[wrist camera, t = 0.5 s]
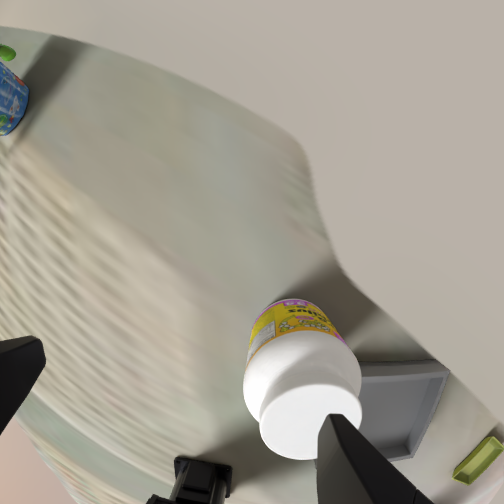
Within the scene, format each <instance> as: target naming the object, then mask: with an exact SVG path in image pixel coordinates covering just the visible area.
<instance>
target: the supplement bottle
mask: <svg viewBox="0 0 504 504" xmlns="http://www.w3.org/2000/svg"><path fill="white" fill-rule="evenodd" d="M360 389H361V370H360V366H359V363H358V361H357V359H356V357H355V355H354V354H353V352H352V351H351V350H350V348H349V347H348V346H347V344H346V343H345V341H344V340H343V338H342V337H341V336H340V334H339V333H338V331H337V330H336V329H335V327H334V326H333V325H332V323H331V322H330V320H329V319H328V318H327V316H326V315H325V314H324V313H323V311H322V310H321V309H320V308H318V307H317V306H316V305H314V304H312V303H310V302H308V301H305V300H301V299H285V300H281V301H278V302H275V303H273V304H271V305H270V306H268V307H267V308H266V309H265V310H263V311H262V312H261V314H260V315H259V316H258V318H257V319H256V321H255V323H254V326H253V328H252V333H251V339H250V345H249V351H248V358H247V364H246V369H245V376H244V383H243V392H244V398H245V402H246V405H247V407H248V409H249V411H250V412H251V414H252V415H253V417H254V418H255V419H256V420H257V421H258V422H259V426H260V434H261V437H262V439H263V441H264V442H265V444H266V445H267V446H268V447H269V448H270V449H271V450H272V451H274V452H275V453H277V454H279V455H281V456H284V457H287V458H291V459H298V460H308V459H316V458H317V440H318V433H319V431H320V429H321V426H322V424H323V422H324V420H325V418H326V416H327V415H328V414H330V413H336V414H343V415H344V416H345V417H346V418H347V419H348V420H349V421H350V422H351V423H352V424H353V425H354V426H355V427H356V428H357V429H359V427H360V424H361V421H362V406H361V403H360V401H359V399H358V396H359V393H360Z"/></svg>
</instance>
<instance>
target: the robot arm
mask: <svg viewBox="0 0 504 504" xmlns="http://www.w3.org/2000/svg"><path fill="white" fill-rule="evenodd" d="M45 364H46V357H45V353H44V349H43V344H42V341H41V340H40V339H38V338H36V337H34V336H25V337H20V338H15V339H9V340H4V341H0V435H1V433H2V432H3V430H4V429H5V427H6V426H7V424H8V423H9V421H10V420H11V419H12V417H13V416H14V414H15V413H16V411H17V410H18V408H19V407H20V406H21V404H22V403H23V401H24V400H25V398H26V397H27V395H28V394H29V392H30V390H31V389H32V387H33V385H34V383H35V382H36V380H37V378H38V377H39V375H40V373H41V372H42V370H43V369H44V367H45ZM174 468H175V477H176V482H175V485H174V487H173V490H172V493H171V496H170V498H169V499H166V498H162V497H159V496H158V495H155V494H153V495H152V497H151V498H149V500H148V501H147V503H146V504H224V501H225V498H229V497H230V488H231V478H232V467H231V466H227V465H219V464H213V463H206V462H201V461H195V460H190V459H185V458H180V457H176V458H175V459H174ZM227 469H228V470H227ZM317 494H318V504H434V503H433V502H432V501H431V500H430V499H428V498H427V497H426V496H425V495H424V494H423V493H422V492H421V491H420V490H418V489H417V490H416V487H415V486H414V485H413V484H412V483H411V482H410V481H409V480H408V479H407V478H406V477H405V476H404V475H403V474H402V473H401V472H399V471H398V470H397V469H396V468H395V467H394V466H393V465H392V464H391V463H390V462H389V461H388V460H387V459H386V458H385V457H384V456H383V455H382V454H381V453H380V452H379V451H378V450H377V449H376V448H375V447H374V446H373V445H372V444H371V443H370V442H369V441H368V440H367V439H366V438H365V437H364V436H363V435H362V434H361V433H360V432H359V430H358V429H357V428H356V427H355V426H354V425H353V424H352V423H351V422H350V421H349V420H348V419H347V418H346V417H345V416H344V415H343V414H336V413H330V414H328V415H327V416H326V418H325V420H324V422H323V424H322V426H321V429H320V431H319V433H318V440H317Z"/></svg>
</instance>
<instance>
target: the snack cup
mask: <svg viewBox="0 0 504 504" xmlns="http://www.w3.org/2000/svg"><path fill="white" fill-rule="evenodd" d="M15 56H16V52H15V51H14V50H13V49H12V48H10V47H8V46H6V45H2V44H0V57H2V59H3V60H5V61H11V60H12V59H14V58H15ZM28 94H29V89H28V87H27V86H26V85H25V84H24V83H23V81H21V80H20V79H19V78H18V77H17V76H16V75H15V74H14V73H12V72H11V71H10V70H9V69H8V68H7V67H6V66H5V65H4V64H3V63H2V62H0V136H4V135H7V134H8V133H9V132H10V131H11V130H12V129H13V128H14V127H15V126H16V125H17V124H18V122H19V120H20V119H21V118H22V117H23V115H24V113H25V112H24V111H25V109H26V106H27V102H28Z"/></svg>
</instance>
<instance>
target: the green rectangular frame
mask: <svg viewBox="0 0 504 504" xmlns="http://www.w3.org/2000/svg"><path fill="white" fill-rule="evenodd" d="M503 450H504V446H503V445H502V444H501V443H500V442H499V441H498V440H497V439H496V438H495V437H494V436H491V437H487V438H485V439H484V440H483V441H482V442H481V443H480V444H479V445H478V446H477V448H476V449H475V450H474V451H473V452H472V453H471V454H470V455H469V456H468V457H467V458H466V459H465V460H464V461H463V462H462V463H461V464H460V465H459V466H458V467H457V468H456V469H455V470H454V472H453V476H452V479H453V480H455V481H458V482H460V483H463V484H465V485H468V486H469V485H470V484H471V483H472V482H474V481H475V480H476V479H477V478H478V477H479V476H480V475H481V474H482V473H483V472H484V471H485V470H486V469H487V468H488V467H489V466H490V465H491V464H492V463H493V461H494V460H495V459H496V458H497V457H498V456H499V455H500V454H501V453H502V452H503Z"/></svg>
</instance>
